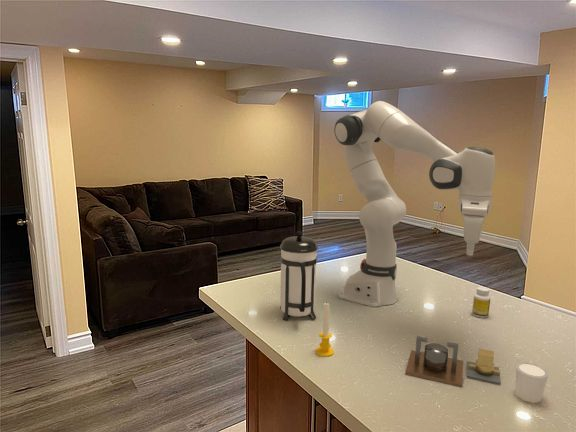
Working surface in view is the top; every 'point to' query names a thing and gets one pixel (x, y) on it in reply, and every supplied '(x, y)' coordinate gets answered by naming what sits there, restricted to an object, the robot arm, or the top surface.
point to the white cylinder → (530, 382)
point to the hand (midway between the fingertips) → (469, 250)
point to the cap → (485, 363)
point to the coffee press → (298, 276)
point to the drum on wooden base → (435, 363)
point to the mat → (474, 375)
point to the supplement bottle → (481, 303)
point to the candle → (325, 335)
